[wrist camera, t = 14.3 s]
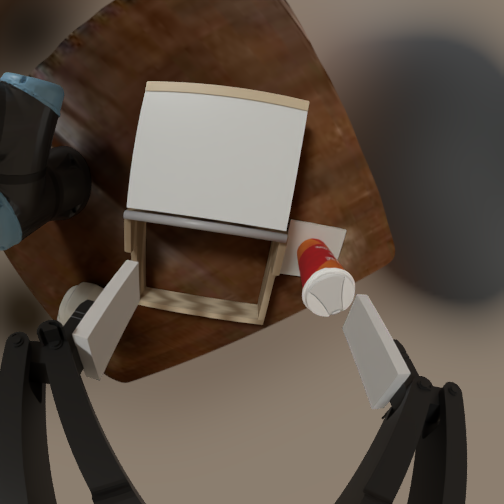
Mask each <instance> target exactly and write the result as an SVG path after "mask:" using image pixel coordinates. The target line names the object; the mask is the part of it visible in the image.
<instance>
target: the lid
mask: <svg viewBox="0 0 504 504" xmlns="http://www.w3.org/2000/svg"><path fill="white" fill-rule="evenodd" d="M308 107H309V101H306V100H302V99H297V98H293V97H288V96H283V95H278V94H273V93H268V92H262V91H256V90H250V89H243V88H236V87H228V86H220V85H210V84H199V83H184V82H156V81H147V85H146V89H145V95H144V99H143V104H142V108H141V113H140V118H139V123H138V128H137V134H136V139H135V145H134V151H133V158H132V165H131V172H130V180H129V189H128V198H127V208H135V209H143V210H150V211H158V212H165V213H172V214H179V215H186V216H193V217H200V218H207V219H213V220H220V221H227V222H233V223H239V224H246V225H252V226H258V227H264V228H270V229H277V230H282V231H286V229H287V224H288V219H289V214H290V209H291V203H292V198H293V193H294V187H295V182H296V176H297V171H298V165H299V159H300V154H301V148H302V142H303V136H304V130H305V124H306V118H307V112H308ZM123 217H124V219H129V220H136V221H143V222H150V223H157V224H164V225H171V226H178V227H184V228H191V229H198V230H205V231H211V232H218V233H224V234H231V235H237V236H244V237H250V238H256V239H263V240H269V241H275V242H281V243H286V241H287V234H283V233H277V232H271V231H265V230H259V229H253V228H246V227H240V226H233V225H227V224H221V223H214V222H207V221H201V220H194V219H187V218H180V217H173V216H166V215H159V214H151V213H144V212H137V211H129V210H125V211H124V215H123Z"/></svg>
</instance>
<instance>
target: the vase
mask: <svg viewBox="0 0 504 504" xmlns="http://www.w3.org/2000/svg"><path fill="white" fill-rule="evenodd" d="M103 290H104V288H102V287H100V286H98V285H96V284H93V283H88V282H82V283H81V284H79V285H78V286H73V287H72V288H70V289H69V290H68V291H67V293H66V294H65V296H64V298H63V300H62V302H61V304H60V308H59V314H58V318H57V321H59V322H60V323H62V325H63V326H64V325H65V323H66V322H67V320H68V319H69V318H70V317H71V315H72V314H73V312H75V310H76V308H77V307H78V306H79V304H81V303H82V302H84V301H85V300H87V299H88V300H92V301H96V299H97V298H98V296H99V295H100V294H101V292H102V291H103Z"/></svg>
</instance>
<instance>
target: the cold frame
mask: <svg viewBox="0 0 504 504" xmlns="http://www.w3.org/2000/svg"><path fill="white" fill-rule="evenodd" d="M127 210H129V211H137V212H144V213H151V214H159V215H166V216H173V217H180V218H187V219H194V220H201V221H207V222H214V223H221V224H227V225H233V226H240V227H246V228H253V229H259V230H265V231H271V232H277V233H283V234H287V241H288V237H289V235H288V232H287V229H286V231H282V230H277V229H270V228H264V227H258V226H252V225H246V224H239V223H233V222H227V221H220V220H213V219H207V218H200V217H193V216H186V215H179V214H172V213H165V212H158V211H150V210H143V209H135V208H128V209H127ZM287 241H286V243H281V242H275V241H272V242H271V247H270V251H269V256H268V260H267V265H266V269H265V274H264V278H263V283H262V287H261V292H260V296H259V300H258V305H256V304H248V303H241V302H234V301H227V300H221V299H214V298H208V297H202V296H195V295H189V294H183V293H178V292H172V291H166V290H161V289H155V288H150V287H146V222H143V221H136V220H129V219H124V247H125V252H129V253H131V261H136V262H138V263H139V291H140V302H139V303H138V305H142V306H147V307H152V308H157V309H163V310H168V311H173V312H179V313H185V314H191V315H197V316H203V317H209V318H215V319H222V320H229V321H236V322H244V323H251V324H259V325H263V323H264V319H265V315H266V311H267V307H268V303H269V299H270V295H271V291H272V287H273V283H274V279H275V276H279V274H280V270H281V266H282V262H283V258H284V254H285V250H286V245H287Z"/></svg>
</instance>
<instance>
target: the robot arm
mask: <svg viewBox="0 0 504 504" xmlns="http://www.w3.org/2000/svg"><path fill="white" fill-rule="evenodd" d="M63 99H64V91H63V89H62V87H61V86H59V85H56V84H54V83H50V82H47V81H44V80H40V79H36V78H32V77H27V76H23V75H19V74H15V73H8V72H6V73H4V74H3V76H2V77H1V78H0V250H6V249H8V248H10V247H11V246H13V245H15V244H18V243H19V242H20V241H22V240H23V239H24V238H26V237H27V236H29V235H30V234H31V233H33V232H34V231H36V230H37V229H38V228H40V227H41V226H43V225H44V224H46V223H47V222H49V221H55V220H65V219H69V218H71V217H73V216H74V215H76V214H78V213H79V212H80V211H81V210H82V209H83V208H84V207H85V205H86V203H87V201H88V199H89V196H90V191H91V177H90V172H89V168H88V165H87V163H86V161H85V160H84V158H83V157H82V155H81V154H80V153H79V152H78V151H76V150H75V149H73V148H71V147H68V146H59V147H55V148H52V149H51V144H52V140H53V136H54V132H55V128H56V124H57V120H58V117H60V110H61V106H62V102H63ZM139 302H140V291H139V263H138V262H136V261H130V260H126V261H125V263H124V264H123V265H122V266H121V268H120V269H119V270H118V271H117V273H116V274H115V275H114V277H113V278H112V279H111V280H110V282H109V283H108V284H107V286H106V287H105V288H104V290H103V291H102V292H101V294H100V295H99V296H98V298H97V299H96V301H92V300H88V299H87V300H85V301H84V302H82V303H81V304H79V306H78V307H77V308H76V310H75V312H73V314H72V315H71V317H70V318H69V319H68V320H67V322H66V323H65V325H64V326H63V325H62V323H60V322H59V321H56V320H48V321H45V322H43V323H42V324H40V325H39V327H38V329H37V335H38V338H39V340H40V342H38V341H30V340H29V338H28V336H27V334H25V333H23V332H16V333H13V334H11V335H10V336H9V337H8V339H7V341H6V345H5V349H4V353H3V358H2V363H1V369H0V504H57V503H56V499H55V494H54V488H53V483H52V477H51V471H50V463H49V455H48V446H47V434H46V411H45V410H46V408H45V394H46V392H45V391H46V383H47V384H50V386H51V390H52V394H53V397H54V401H55V404H56V408H57V411H58V414H59V417H60V420H61V423H62V426H63V429H64V432H65V434H66V437H67V440H68V443H69V445H70V448H71V450H72V453H73V455H74V457H75V459H76V462H77V464H78V466H79V469H80V471H81V473H82V475H83V477H84V479H85V481H86V483H87V485H88V487H89V489H90V491H91V494H92V500H93V502H94V504H146V503H145V502H144V500H143V499H142V498H141V496H140V495H139V493H138V492H137V490H136V489H135V487H134V486H133V484H132V482H131V481H130V479H129V478H128V476H127V474H126V473H125V471H124V469H123V467H122V466H121V464H120V462H119V460H118V459H117V457H116V455H115V453H114V451H113V450H112V447H111V446H110V444H109V442H108V440H107V438H106V436H105V434H104V431H103V429H102V427H101V425H100V423H99V421H98V418H97V416H96V415H95V412H94V409H93V407H92V404H91V402H90V400H89V397H88V395H87V392H86V389H85V387H84V384H83V381H82V378H81V376H80V374H81V372H82V370H83V369H84V372H85V375H86V376H87V377H90V378H93V379H96V380H100V379H101V377H102V375H103V373H104V371H105V369H106V366H107V364H108V362H109V360H110V358H111V356H112V354H113V352H114V350H115V348H116V346H117V344H118V342H119V340H120V338H121V336H122V334H123V332H124V330H125V328H126V326H127V324H128V322H129V320H130V318H131V316H132V315H133V313H134V311H135V309H136V307H137V305H138V303H139ZM342 329H343V331H344V334H345V336H346V339H347V342H348V344H349V347H350V350H351V352H352V355H353V357H354V360H355V363H356V366H357V368H358V371H359V374H360V377H361V379H362V382H363V385H364V388H365V391H366V394H367V396H368V399H369V402H370V405H371V408H372V409H379V408H384V407H385V406H386V405H387V404H388V402H389V401H390V403H391V405H392V407H391V408H390V409H389V410H388V411H387V412H386V413H385V415H384V416H383V417H382V419H384V418H385V419H384V421H383V423H382V425H381V427H380V429H379V431H378V433H377V435H376V437H375V439H374V441H373V443H372V444H371V446H370V448H369V450H368V452H367V454H366V455H365V457H364V459H363V461H362V462H361V464H360V466H359V467H358V469H357V471H356V472H355V474H354V476H353V477H352V479H351V480H350V482H349V483H348V485H347V486H346V488H345V489H344V491H343V492H342V494H341V495H340V497H339V498H338V499H337V501H336V502H335V504H392V502H393V500H394V498H395V496H396V494H397V492H398V490H399V488H400V486H401V484H402V481H403V479H404V477H405V475H406V472H407V470H408V467H409V465H410V462H411V460H412V457H413V455H414V452H415V461H414V468H413V475H412V481H411V487H410V493H409V498H408V503H407V504H465V498H466V482H467V441H466V425H465V414H464V405H463V397H462V392H461V389H460V388H459V386H458V385H457V384H455V383H453V382H447V383H446V384H445V385H444V386H443V388H439V387H434V386H433V385H432V383H431V382H430V381H429V380H428V379H427V378H425V377H422V376H419V375H418V373H417V371H416V369H415V367H414V365H413V363H412V362H411V360H410V359H409V356H408V355H407V354H406V351H405V349H404V347H403V345H401V344H400V343H399V341H398V340H393V339H392V337H391V335H390V333H389V332H388V330H387V328H386V326H385V325H384V323H383V321H382V319H381V317H380V316H379V314H378V313H377V311H376V309H375V307H374V305H373V304H372V302H371V300H370V299H369V297H368V295H361V294H357V295H356V298H355V300H354V302H353V305H352V307H351V309H350V312H349V314H348V316H347V319H346V321H345V323H344V325H343V328H342ZM415 449H416V451H415Z"/></svg>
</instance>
